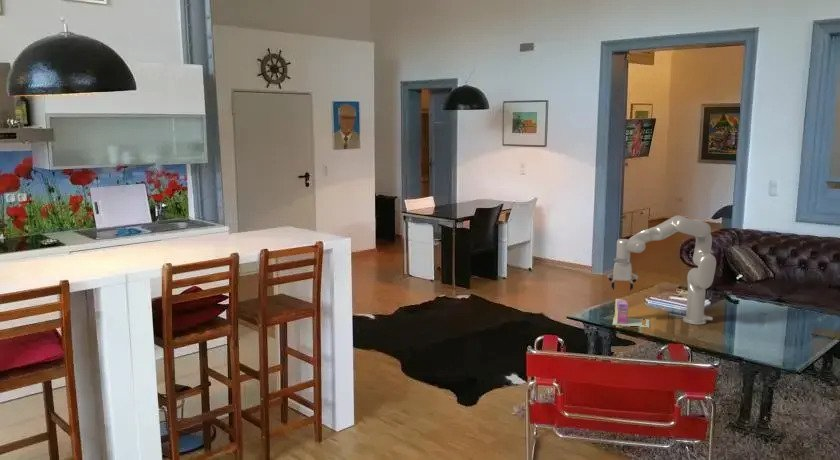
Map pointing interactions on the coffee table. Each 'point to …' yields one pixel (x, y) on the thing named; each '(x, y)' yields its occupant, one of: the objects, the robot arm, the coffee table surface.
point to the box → (621, 311)
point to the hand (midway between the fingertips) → (622, 289)
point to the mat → (632, 322)
